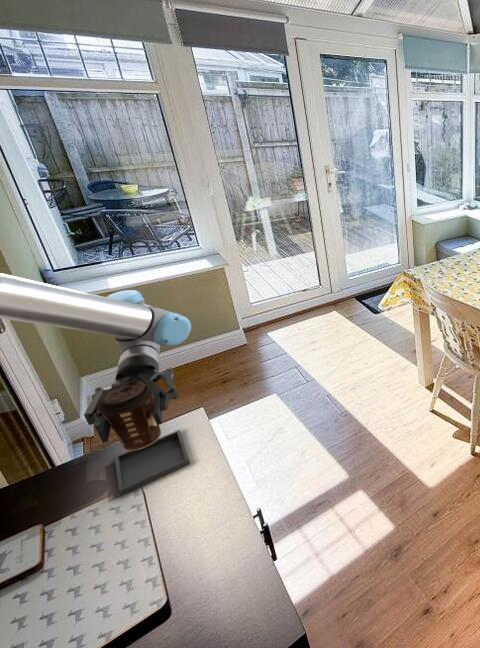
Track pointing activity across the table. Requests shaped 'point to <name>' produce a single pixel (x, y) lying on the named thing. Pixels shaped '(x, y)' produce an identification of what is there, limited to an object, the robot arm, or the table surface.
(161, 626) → the table surface
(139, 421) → the coffee cup
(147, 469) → the coaster pad
